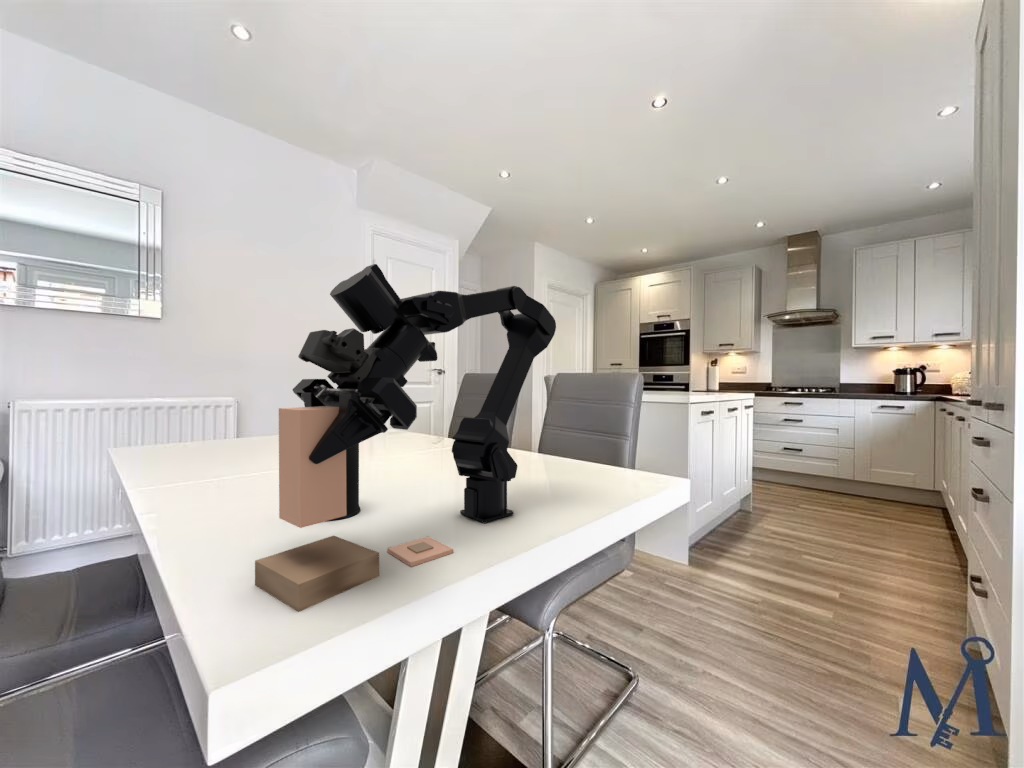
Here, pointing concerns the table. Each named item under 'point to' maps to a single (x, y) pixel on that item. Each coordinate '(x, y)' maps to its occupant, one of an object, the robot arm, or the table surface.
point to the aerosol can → (352, 482)
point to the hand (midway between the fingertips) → (300, 458)
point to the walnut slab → (316, 571)
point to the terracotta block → (309, 468)
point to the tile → (419, 551)
